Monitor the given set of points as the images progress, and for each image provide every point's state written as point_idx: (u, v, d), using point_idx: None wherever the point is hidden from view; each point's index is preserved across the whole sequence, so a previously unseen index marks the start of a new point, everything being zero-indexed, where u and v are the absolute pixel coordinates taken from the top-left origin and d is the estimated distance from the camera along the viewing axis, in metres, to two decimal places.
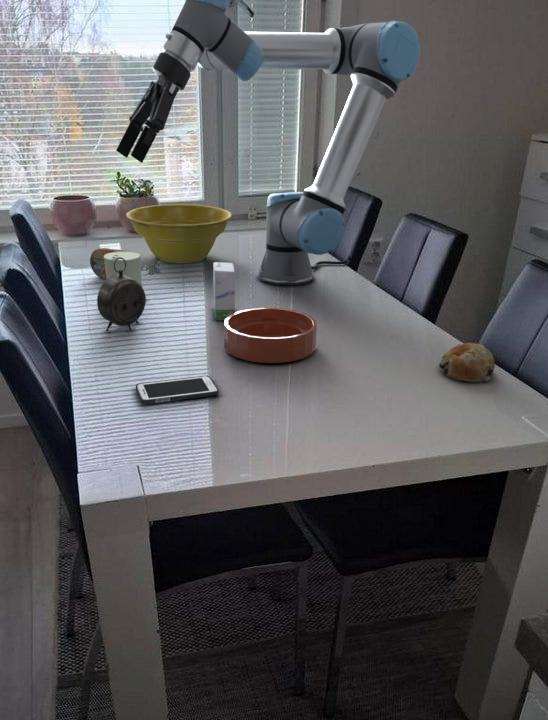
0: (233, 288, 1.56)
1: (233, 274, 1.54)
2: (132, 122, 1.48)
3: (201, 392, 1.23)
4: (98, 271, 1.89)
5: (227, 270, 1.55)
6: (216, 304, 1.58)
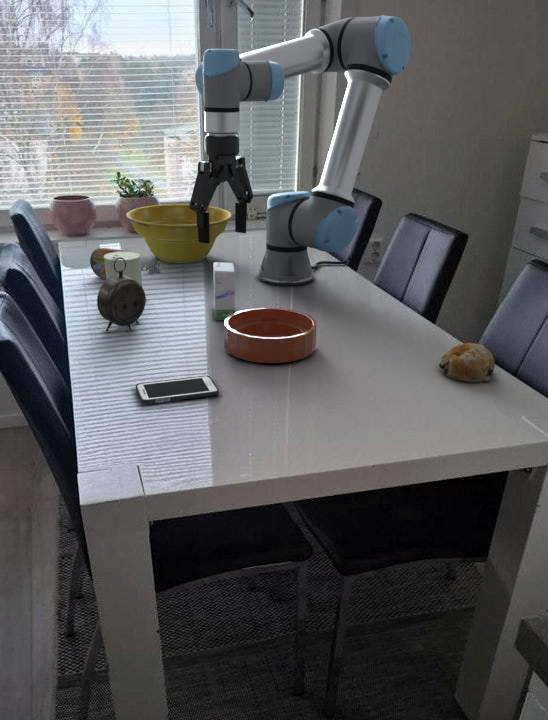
0: (233, 288, 1.56)
1: (233, 274, 1.54)
2: (238, 200, 1.55)
3: (201, 392, 1.23)
4: (98, 271, 1.89)
5: (227, 270, 1.55)
6: (216, 304, 1.58)
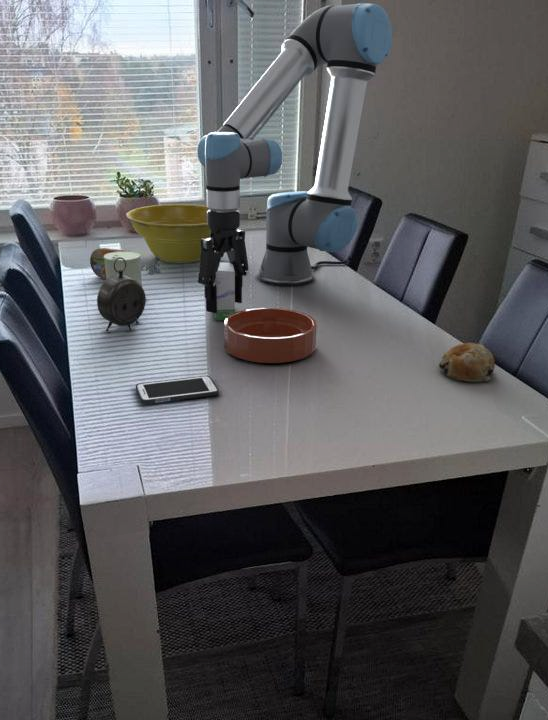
0: (233, 288, 1.56)
1: (233, 274, 1.54)
2: None
3: (201, 392, 1.23)
4: (98, 271, 1.89)
5: (227, 270, 1.55)
6: None
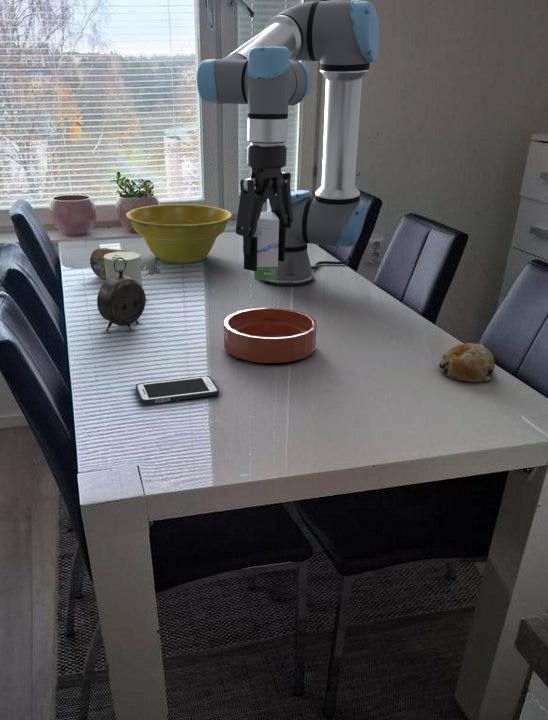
0: (277, 240, 1.31)
1: (277, 223, 1.29)
2: None
3: (201, 392, 1.23)
4: (98, 271, 1.89)
5: (270, 218, 1.30)
6: None
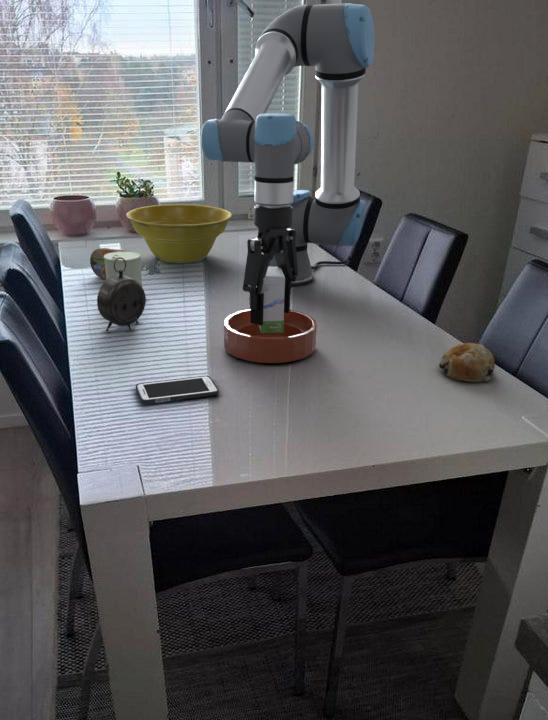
0: (283, 296, 1.34)
1: (283, 280, 1.32)
2: None
3: (201, 392, 1.23)
4: (98, 271, 1.89)
5: (276, 275, 1.33)
6: None
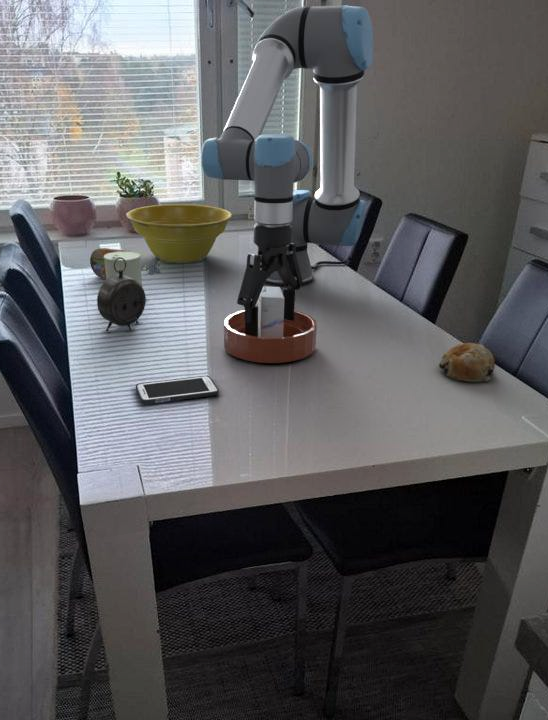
0: (282, 317, 1.36)
1: (283, 301, 1.35)
2: (286, 286, 1.43)
3: (201, 392, 1.23)
4: (98, 271, 1.89)
5: (276, 296, 1.35)
6: (262, 334, 1.38)
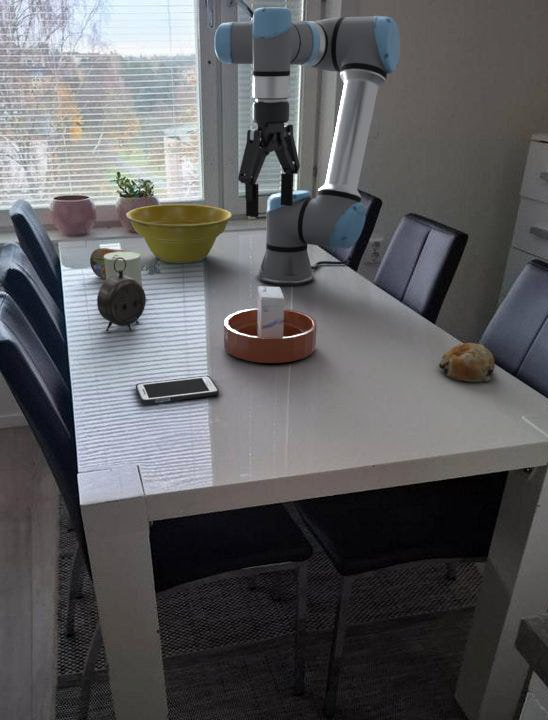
0: (282, 317, 1.36)
1: (283, 301, 1.35)
2: (284, 171, 1.48)
3: (201, 392, 1.23)
4: (98, 271, 1.89)
5: (276, 296, 1.35)
6: (262, 335, 1.38)
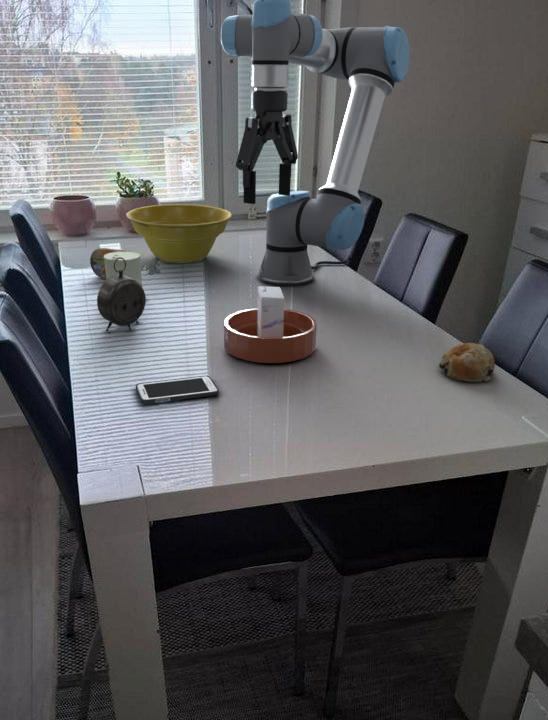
0: (282, 317, 1.36)
1: (283, 301, 1.35)
2: (282, 161, 1.51)
3: (201, 392, 1.23)
4: (98, 271, 1.89)
5: (276, 296, 1.35)
6: (262, 335, 1.38)
